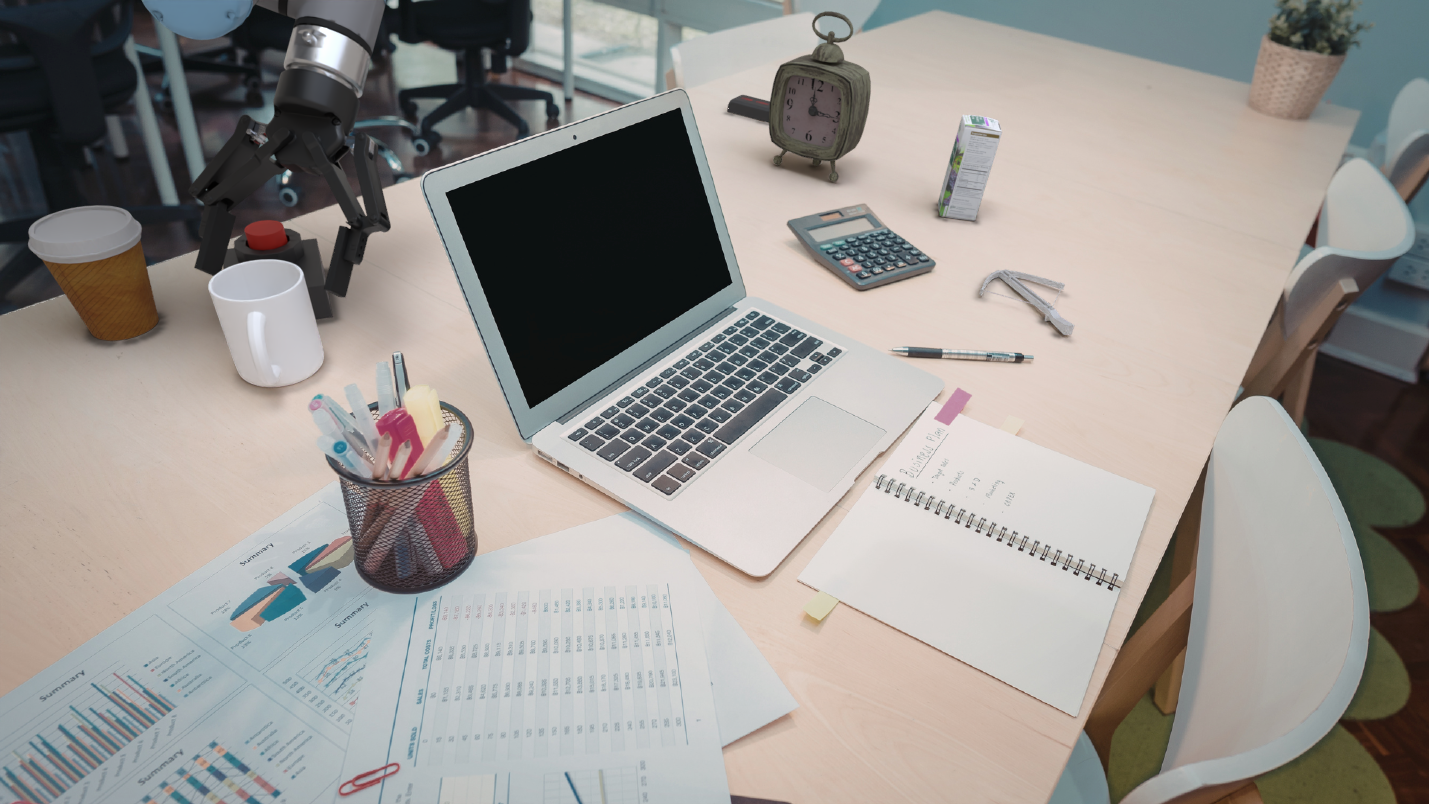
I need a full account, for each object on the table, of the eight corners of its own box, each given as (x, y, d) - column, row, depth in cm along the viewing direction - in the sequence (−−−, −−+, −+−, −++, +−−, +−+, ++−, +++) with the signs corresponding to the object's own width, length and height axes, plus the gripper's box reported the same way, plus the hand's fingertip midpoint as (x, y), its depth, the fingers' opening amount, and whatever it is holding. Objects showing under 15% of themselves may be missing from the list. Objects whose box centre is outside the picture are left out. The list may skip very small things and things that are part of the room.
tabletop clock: (762, 165, 139) (780, 7, 124) (786, 151, 146) (806, -1, 130) (838, 188, 134) (867, 25, 119) (860, 172, 140) (890, 16, 125)
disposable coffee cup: (148, 293, 94) (109, 195, 86) (193, 323, 89) (155, 223, 82) (56, 326, 87) (4, 223, 80) (98, 360, 83) (48, 255, 76)
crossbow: (958, 282, 112) (962, 269, 111) (1037, 277, 115) (1042, 264, 114) (1023, 339, 99) (1027, 324, 98) (1110, 331, 103) (1115, 317, 101)
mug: (320, 407, 80) (295, 318, 74) (226, 417, 78) (192, 326, 71) (328, 340, 89) (306, 256, 83) (244, 348, 87) (215, 262, 80)
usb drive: (739, 105, 164) (741, 91, 162) (792, 119, 160) (794, 105, 158) (727, 111, 160) (728, 97, 159) (780, 126, 156) (782, 111, 154)
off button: (248, 238, 94) (243, 222, 93) (286, 234, 96) (282, 218, 94) (249, 254, 91) (244, 237, 90) (288, 249, 93) (284, 232, 92)
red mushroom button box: (233, 279, 97) (218, 233, 94) (323, 267, 101) (312, 222, 98) (234, 332, 89) (217, 284, 85) (332, 317, 93) (321, 270, 89)
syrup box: (936, 202, 132) (959, 112, 123) (973, 207, 132) (999, 117, 123) (938, 217, 127) (963, 125, 119) (976, 222, 127) (1004, 130, 118)
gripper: (184, 48, 81) (125, 251, 78) (421, 81, 78) (370, 292, 75) (233, 88, 88) (182, 275, 85) (452, 119, 86) (406, 312, 83)
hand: (270, 283), depth 80 cm, fingers open, 13 cm apart
